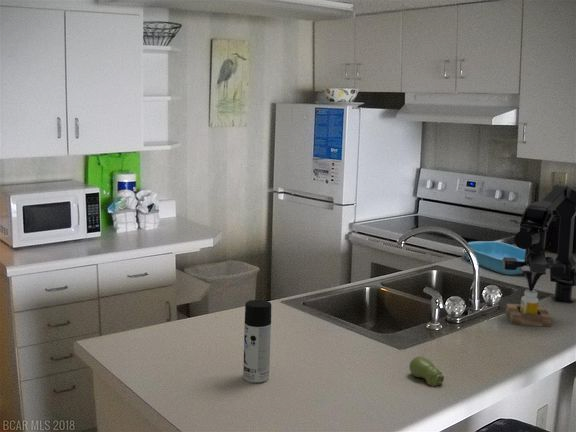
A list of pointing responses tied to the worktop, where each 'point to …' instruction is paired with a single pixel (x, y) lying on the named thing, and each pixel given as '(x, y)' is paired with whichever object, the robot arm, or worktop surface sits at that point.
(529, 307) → the supplement bottle
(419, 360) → the pear
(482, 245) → the casserole dish
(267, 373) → the spray can
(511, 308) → the walnut jig
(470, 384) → the worktop surface
